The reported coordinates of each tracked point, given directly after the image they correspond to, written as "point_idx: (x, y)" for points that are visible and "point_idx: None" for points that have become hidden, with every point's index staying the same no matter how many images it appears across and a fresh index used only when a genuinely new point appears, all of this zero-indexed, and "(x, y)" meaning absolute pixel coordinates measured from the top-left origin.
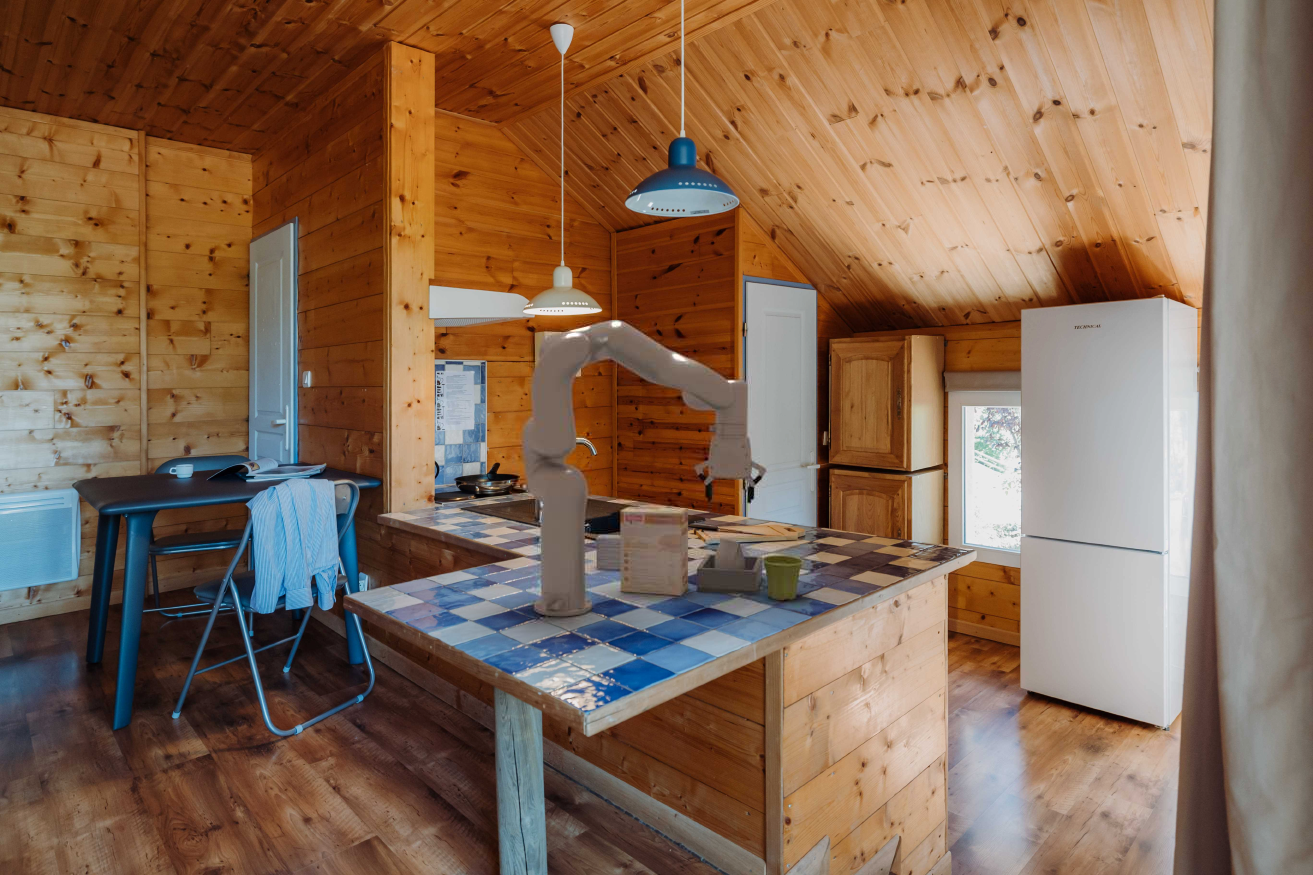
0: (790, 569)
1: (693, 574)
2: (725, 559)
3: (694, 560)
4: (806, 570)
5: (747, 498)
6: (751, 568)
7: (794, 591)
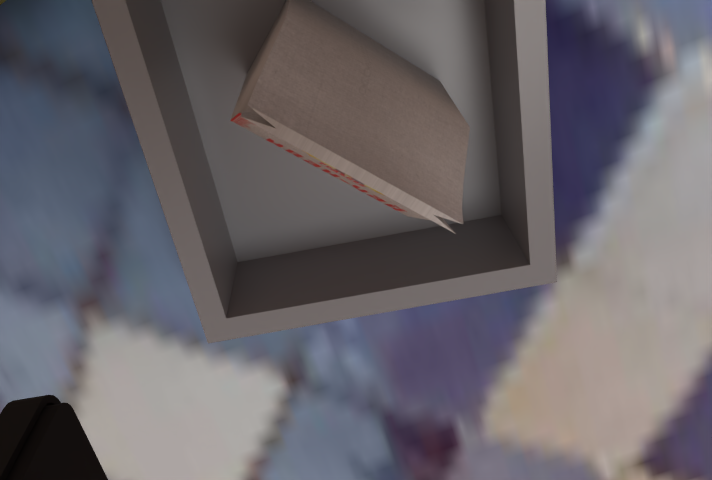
0: None
1: (596, 207)
2: (366, 63)
3: (641, 445)
4: None
5: (34, 451)
6: (270, 274)
7: None
